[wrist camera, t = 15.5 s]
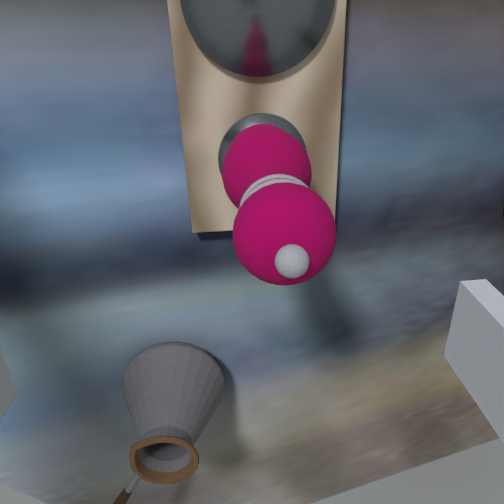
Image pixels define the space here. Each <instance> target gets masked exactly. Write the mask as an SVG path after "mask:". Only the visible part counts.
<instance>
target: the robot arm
mask: <svg viewBox="0 0 504 504" xmlns="http://www.w3.org/2000/svg"><path fill="white" fill-rule="evenodd" d="M444 356H445V358H446V359H447V361H448V362H449V364H450V365H451V367H452V368H453V370H454V371H455V373H456V374H457V375H458V377H459V378H460V380H461V381H462V383H463V384H464V386H465V387H466V389H467V390H468V392H469V393H470V395H471V396H472V397H473V399H474V400H475V402H476V403H477V405H478V406H479V408H480V409H481V411H482V412H483V414H484V415H485V417H486V418H487V419H488V421H489V422H490V424H491V425H492V427H493V428H494V430H495V431H496V433H497V434H498V436H499V437H500V439H501V440H502V441H503V443H504V296H503V295H502V294H501V293H500V292H499V291H498V290H497V289H496V288H495V287H494V286H493V285H492V284H491V283H489V282H488V281H487V280H486V279H483V280H469V281H460V285H459V289H458V294H457V298H456V303H455V307H454V312H453V316H452V321H451V325H450V330H449V334H448V339H447V343H446V348H445V353H444ZM16 392H17V390H16V388H15V385H14V382H13V380H12V377H11V375H10V372H9V369H8V367H7V364H6V362H5V359H4V356H3V354H2V351H1V349H0V423H1V421H2V419H3V417H4V415H5V413H6V411H7V409H8V407H9V405H10V403H11V401H12V399H13V398H14V396H15V394H16Z"/></svg>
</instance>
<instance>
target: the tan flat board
mask: <svg viewBox="0 0 504 504" xmlns="http://www.w3.org/2000/svg"><path fill="white" fill-rule="evenodd" d="M346 1H347V0H335V4H334V9H333V13H332V16H331V19H330V22H329V25H328V27H327V29H326V31H325V33H324V35H323V37H322V38H321V40H320V42H319V43H318V44H317V46H316V47H315V48H314V50H313V51H312V52H311V53H310V54H309V55H308V56H307V57H306V58H305V59H303V60H302V61H301V62H300V63H298V64H297V65H295V66H294V67H292V68H290V69H288V70H286V71H284V72H281V73H279V74H275V75H271V76H263V77H250V76H244V75H240V74H237V73H233V72H231V71H229V70H227V69H225V68H223V67H221V66H220V65H218V64H217V63H215V62H214V61H213V60H211V59H210V58H209V57H208V56H207V55H206V54H205V53H204V52H203V51H202V50H201V49H200V47H199V46H198V44H197V43H196V42H195V40H194V39H193V37H192V35H191V33H190V31H189V29H188V27H187V24H186V22H185V19H184V16H183V12H182V9H181V3H180V0H167V2H168V11H169V20H170V30H171V39H172V48H173V57H174V66H175V76H176V85H177V94H178V103H179V112H180V122H181V131H182V140H183V149H184V158H185V168H186V177H187V186H188V195H189V204H190V214H191V223H192V232H193V233H197V232H213V231H229V230H233V224H234V220H235V217H236V215H237V212H238V210H239V209H238V208H237V207H236V206H235V205H234V204H233V203H232V202H231V201H230V199H229V198H228V196H227V193H226V191H225V189H224V185H223V180H222V176H221V174H220V170H219V165H218V152H219V147H220V143H221V141H222V138H223V137H224V135H225V133H226V132H227V131H228V129H229V128H230V127H231V126H232V125H233V124H234V123H236V122H237V121H238V120H240V119H242V118H243V117H246V116H248V115H252V114H256V113H270V114H275V115H278V116H280V117H283V118H285V119H286V120H288V121H289V122H290V123H292V124H293V125H294V126H295V127H296V129H297V130H298V131H299V133H300V134H301V136H302V138H303V140H304V143H305V146H306V151H307V155H308V157H309V160H310V163H311V170H312V178H311V183H310V187H309V189H311V190H313V191H314V192H316V193H318V194H319V195H320V196H321V198H322V199H323V200H324V201H325V202H326V203H327V205H328V206H329V208H330V209H331V212H332V214H333V217H334V221H335V208H336V189H337V170H338V152H339V133H340V114H341V95H342V76H343V57H344V38H345V20H346Z"/></svg>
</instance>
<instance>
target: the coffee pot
mask: <svg viewBox="0 0 504 504" xmlns="http://www.w3.org/2000/svg"><path fill="white" fill-rule="evenodd" d="M122 386H123V392H124V396H125V399H126V402H127V405H128V409H129V412H130V415H131V418H132V421H133V424H134V427H135V430H136V433H137V436H138V439H139V441H138V442H137V443H136V444H134V445H132V447H131V451H130V464H131V468H132V469H133V471H134V475H133V476H132V478H131V480H130V481H129V483H128V484H127V486H126V488H124V490H123V491H122V492H121V494H120V495H119V497H118V498H117V499H116V501H115V502H114V503H113V504H126V502H127V500H128V498H129V497H130V495H131V493H132V490H133V489H134V487H135V486H136V485H137V483H138V482H139V480H140V479H141V478H142V479H144V480H146V481H149V482H152V483H157V484H172V483H177V482H180V481H183V480H185V479H187V478H188V477H190V476H191V475H192V474H193V473H194V472H195V470H196V469H197V467H198V464H199V455H198V453H197V451H196V449H195V448H194V447H193V446H194V444H195V442H196V441H197V439H198V437H199V436H200V434H201V432H202V430H203V429H204V427H205V425H206V424H207V422H208V420H209V419H210V417H211V415H212V413H213V412H214V410H215V408H216V407H217V405H218V403H219V401H220V400H221V397H222V394H223V391H224V376H223V374H222V371H221V368H220V366H219V365H218V364H217V362H216V361H215V360H214V359H213V357H212V356H211V355H210V354H208V353H207V352H206V351H204V350H203V349H202V348H199V347H197V346H194V345H192V344H188V343H182V342H164V343H160V344H156V345H152V346H150V347H148V348H147V349H145V350H143V351H141V352H140V353H139V354H138V355H137V356H136V357H135V358H134V359H133V360H131V361H130V363H129V365H128V366H127V368H126V370H125V371H124V375H123V380H122Z"/></svg>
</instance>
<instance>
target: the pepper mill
mask: <svg viewBox="0 0 504 504" xmlns="http://www.w3.org/2000/svg"><path fill="white" fill-rule="evenodd" d="M311 178H312V170H311V163H310V160H309V157H308V155H307V152H306V150H305V149H304V147H303V145H302V144H301V143H300V142H299V141H298V140H297V139H296V138H295V137H293V136H292V135H291V134H289V133H287V132H285V131H284V130H282V129H280V128H279V127H276V126H273V125H269V124H257V125H253V126H250V127H248V128H246V129H244V130H243V131H241V132H240V133H239V134H238V135H237V136H236V137H235V138H234V140H233V141H232V143H231V145H230V148H229V150H228V151H227V153H226V155H225V158H224V161H223V165H222V180H223V185H224V189H225V191H226V193H227V196H228V198H229V199H230V201H231V202H232V203H233V204H234V205H235V206H236V207H237V208H238V209H239V210H238V212H237V215H236V217H235V220H234V224H233V243H234V248H235V250H236V253H237V256H238V258H239V260H240V261H241V263H242V265H243V266H244V267H245V268H246V269H247V270H248V271H249V272H250V273H251V274H252V275H254V276H255V277H257V278H258V279H260V280H262V281H265V282H267V283H272V284H276V285H294V284H298V283H301V282H304V281H306V280H308V279H310V278H312V277H313V276H315V275H316V274H317V273H318V272H320V271H321V270H322V269H323V268H324V266H325V265H326V264H327V262H328V261H329V259H330V257H331V255H332V253H333V250H334V248H335V244H336V224H335V221H334V217H333V214H332V212H331V209H330V208H329V206H328V205H327V203H326V202H325V201H324V200H323V199H322V198H321V196H320V195H319V194H318V193H316V192H314V191H313V190H311V189H309V187H310V183H311Z"/></svg>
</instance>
